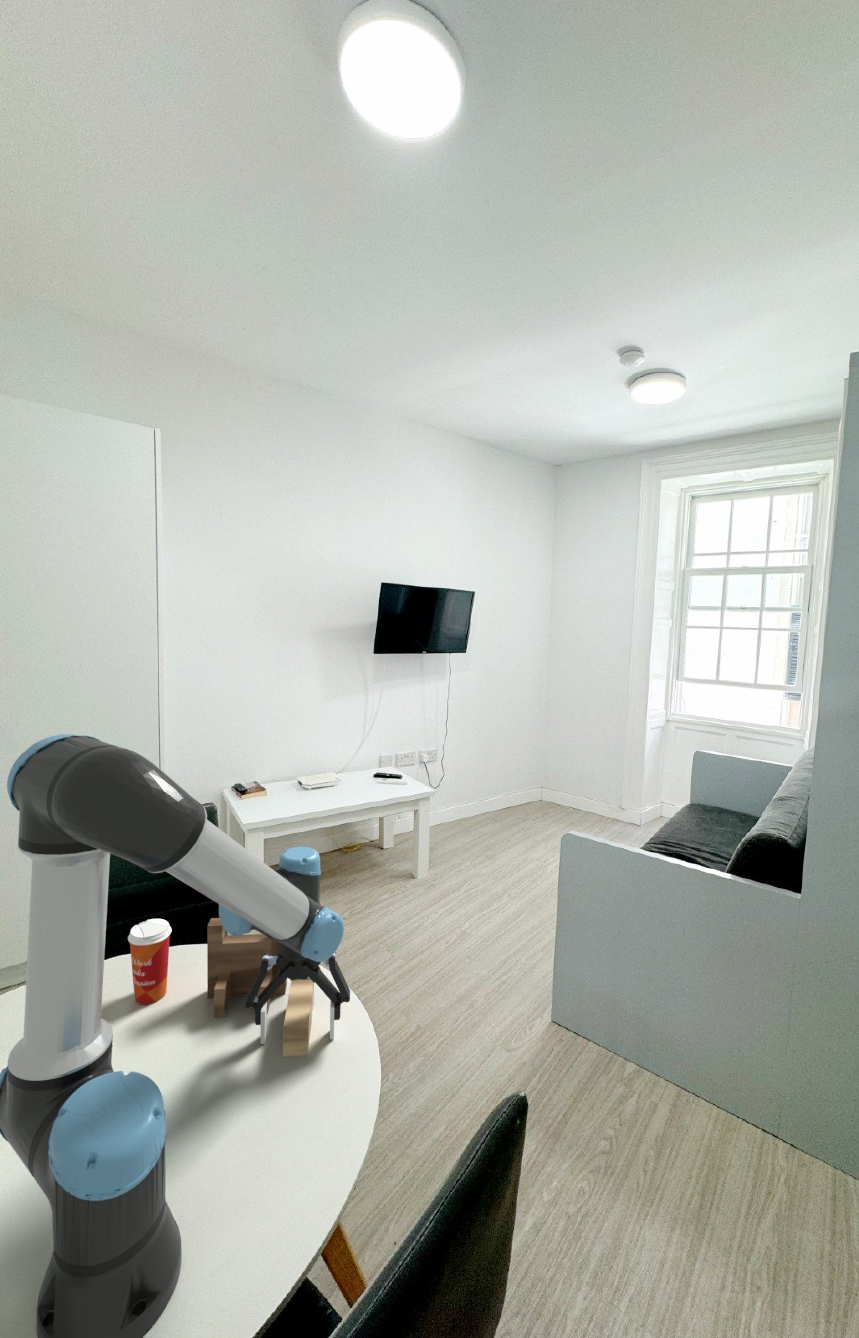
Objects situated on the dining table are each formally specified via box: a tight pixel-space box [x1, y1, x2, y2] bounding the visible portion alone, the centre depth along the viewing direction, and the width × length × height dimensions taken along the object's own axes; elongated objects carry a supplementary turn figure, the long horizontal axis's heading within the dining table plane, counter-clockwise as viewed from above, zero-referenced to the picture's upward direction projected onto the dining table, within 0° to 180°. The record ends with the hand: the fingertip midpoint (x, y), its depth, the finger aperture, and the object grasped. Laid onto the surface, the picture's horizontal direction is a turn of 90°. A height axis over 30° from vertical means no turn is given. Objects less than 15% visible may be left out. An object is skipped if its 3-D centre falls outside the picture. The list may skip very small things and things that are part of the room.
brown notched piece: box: [206, 917, 288, 1018], centre depth 118 cm, size 9×16×16 cm, turn 98°
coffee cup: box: [127, 918, 173, 1005], centre depth 119 cm, size 8×8×15 cm
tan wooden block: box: [282, 977, 315, 1057], centre depth 111 cm, size 14×4×6 cm, turn 7°
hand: (298, 1036), depth 109 cm, fingers open, 12 cm apart
